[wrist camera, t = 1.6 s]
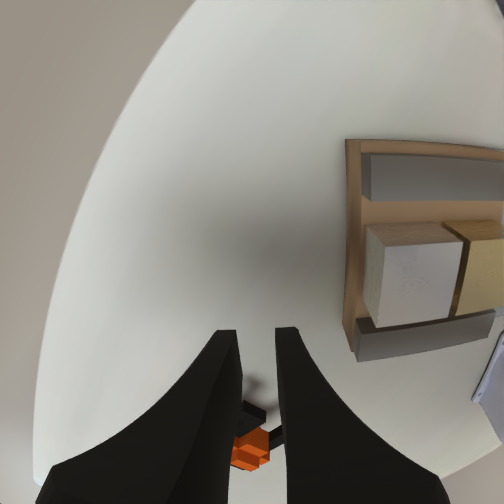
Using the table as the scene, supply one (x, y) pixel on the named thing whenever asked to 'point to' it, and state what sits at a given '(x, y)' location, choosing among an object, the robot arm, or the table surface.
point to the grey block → (409, 272)
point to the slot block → (414, 210)
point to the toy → (253, 438)
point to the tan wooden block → (478, 265)
